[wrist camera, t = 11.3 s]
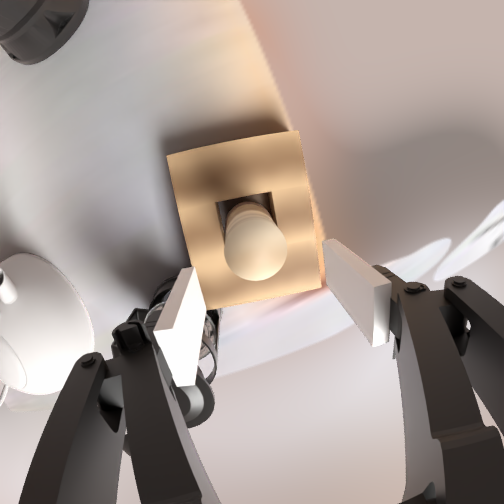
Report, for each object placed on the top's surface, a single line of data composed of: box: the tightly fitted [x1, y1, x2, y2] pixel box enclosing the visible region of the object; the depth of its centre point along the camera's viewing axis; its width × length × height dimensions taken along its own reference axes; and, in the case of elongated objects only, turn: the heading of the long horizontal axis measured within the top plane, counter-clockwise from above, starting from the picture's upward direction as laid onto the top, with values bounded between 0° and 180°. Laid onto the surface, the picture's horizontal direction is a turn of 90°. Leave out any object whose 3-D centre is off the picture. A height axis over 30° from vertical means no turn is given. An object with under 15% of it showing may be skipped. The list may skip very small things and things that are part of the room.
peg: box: [224, 202, 287, 281], centre depth 28 cm, size 5×5×14 cm
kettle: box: [0, 253, 95, 406], centre depth 25 cm, size 25×23×22 cm
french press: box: [111, 276, 223, 456], centre depth 26 cm, size 12×9×23 cm
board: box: [167, 130, 321, 311], centre depth 32 cm, size 18×14×4 cm
